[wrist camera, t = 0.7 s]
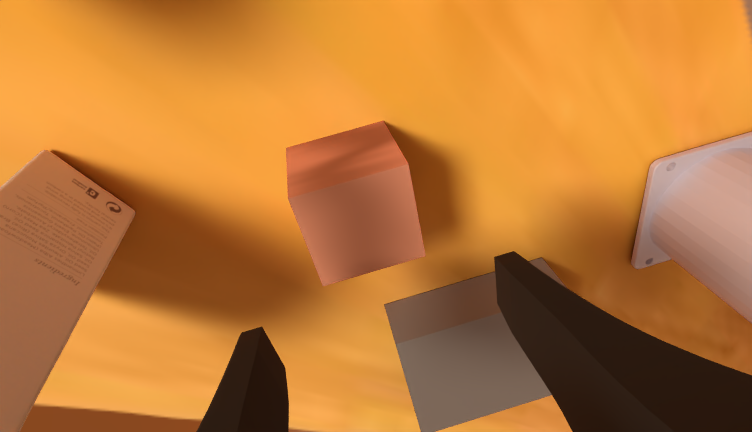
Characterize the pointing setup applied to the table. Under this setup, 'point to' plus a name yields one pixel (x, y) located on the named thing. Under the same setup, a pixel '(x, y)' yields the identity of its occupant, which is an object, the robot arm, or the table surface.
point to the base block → (462, 353)
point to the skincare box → (48, 270)
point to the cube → (354, 202)
